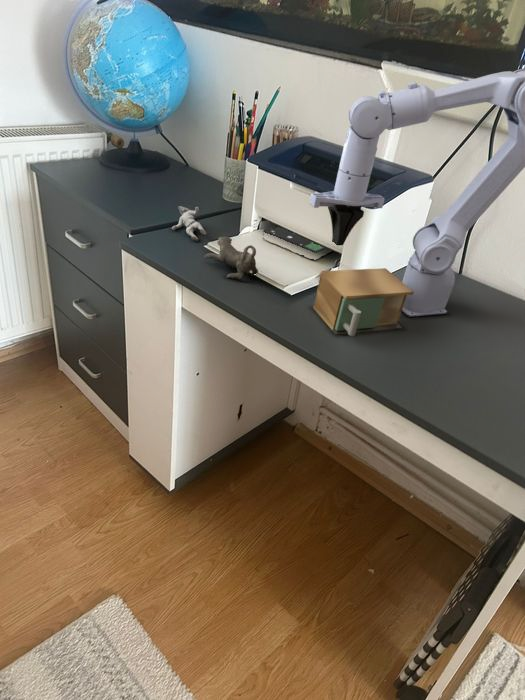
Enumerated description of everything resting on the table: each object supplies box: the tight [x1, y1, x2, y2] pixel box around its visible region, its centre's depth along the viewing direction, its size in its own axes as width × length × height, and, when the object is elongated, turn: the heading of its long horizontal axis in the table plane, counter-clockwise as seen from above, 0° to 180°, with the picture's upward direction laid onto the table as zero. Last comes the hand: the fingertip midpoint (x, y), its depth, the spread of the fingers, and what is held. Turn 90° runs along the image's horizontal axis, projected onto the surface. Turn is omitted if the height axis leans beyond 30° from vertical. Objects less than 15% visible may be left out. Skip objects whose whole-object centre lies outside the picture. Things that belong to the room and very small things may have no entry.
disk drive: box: [262, 227, 325, 253], centre depth 123 cm, size 10×3×15 cm
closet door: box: [335, 297, 385, 337], centre depth 91 cm, size 8×4×6 cm, turn 112°
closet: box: [312, 267, 414, 336], centre depth 96 cm, size 14×9×8 cm
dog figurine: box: [203, 236, 259, 280], centre depth 105 cm, size 12×6×7 cm, turn 44°
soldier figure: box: [171, 205, 207, 242], centre depth 120 cm, size 8×5×12 cm
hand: (337, 243), depth 100 cm, fingers closed
